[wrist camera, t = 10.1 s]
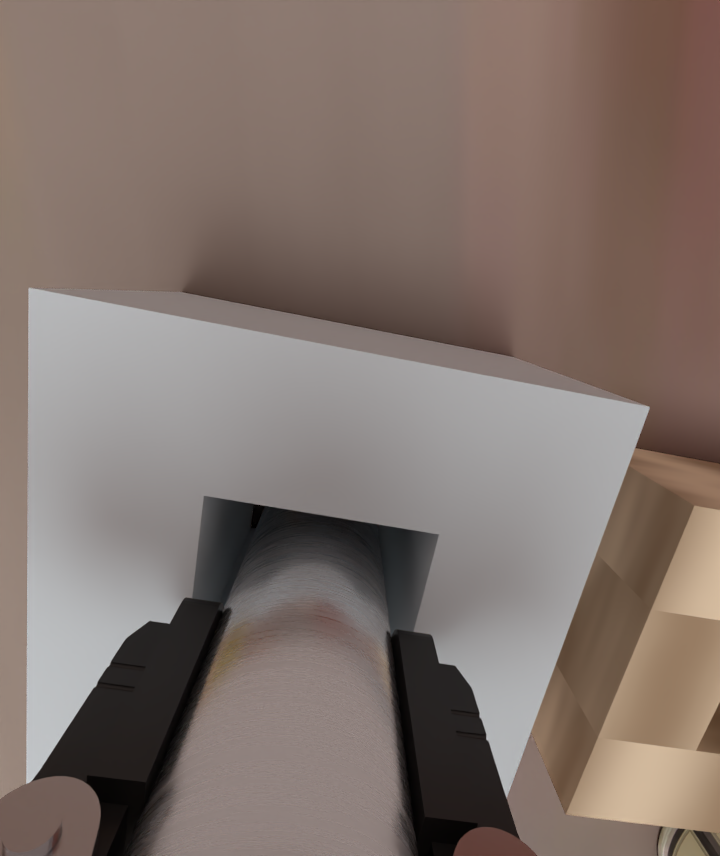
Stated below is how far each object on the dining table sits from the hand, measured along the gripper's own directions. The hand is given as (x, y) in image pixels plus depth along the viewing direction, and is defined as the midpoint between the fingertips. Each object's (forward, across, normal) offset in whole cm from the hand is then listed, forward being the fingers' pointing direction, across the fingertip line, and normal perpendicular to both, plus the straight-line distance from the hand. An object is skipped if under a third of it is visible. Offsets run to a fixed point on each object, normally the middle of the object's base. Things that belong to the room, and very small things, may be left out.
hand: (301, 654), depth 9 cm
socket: (+9, 0, 0) cm, 9 cm away
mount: (+9, -15, +2) cm, 18 cm away
